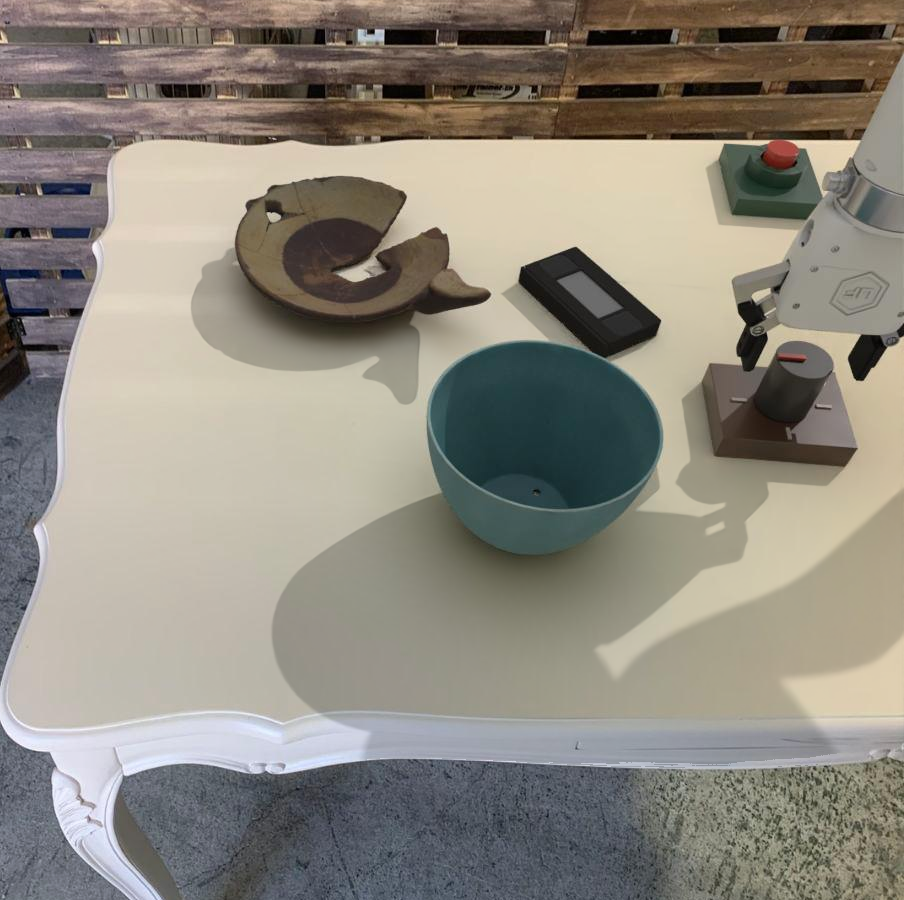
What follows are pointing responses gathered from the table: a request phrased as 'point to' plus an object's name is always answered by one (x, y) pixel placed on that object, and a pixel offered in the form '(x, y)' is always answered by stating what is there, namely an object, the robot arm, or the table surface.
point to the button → (780, 154)
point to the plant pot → (540, 443)
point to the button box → (768, 184)
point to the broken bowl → (344, 253)
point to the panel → (774, 421)
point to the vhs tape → (589, 302)
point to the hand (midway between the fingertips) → (799, 365)
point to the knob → (793, 381)
